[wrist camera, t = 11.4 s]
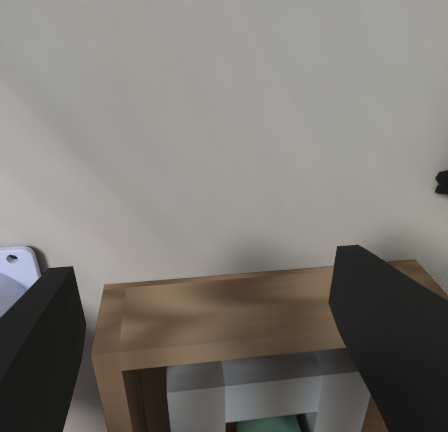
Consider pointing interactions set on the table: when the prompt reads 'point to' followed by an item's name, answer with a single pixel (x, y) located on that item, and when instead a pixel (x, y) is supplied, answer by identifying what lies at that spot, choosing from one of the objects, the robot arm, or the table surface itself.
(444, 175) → the electric trimmer
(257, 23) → the table surface
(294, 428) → the peg
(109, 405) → the box
